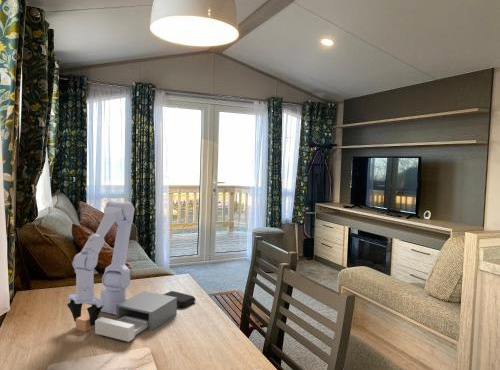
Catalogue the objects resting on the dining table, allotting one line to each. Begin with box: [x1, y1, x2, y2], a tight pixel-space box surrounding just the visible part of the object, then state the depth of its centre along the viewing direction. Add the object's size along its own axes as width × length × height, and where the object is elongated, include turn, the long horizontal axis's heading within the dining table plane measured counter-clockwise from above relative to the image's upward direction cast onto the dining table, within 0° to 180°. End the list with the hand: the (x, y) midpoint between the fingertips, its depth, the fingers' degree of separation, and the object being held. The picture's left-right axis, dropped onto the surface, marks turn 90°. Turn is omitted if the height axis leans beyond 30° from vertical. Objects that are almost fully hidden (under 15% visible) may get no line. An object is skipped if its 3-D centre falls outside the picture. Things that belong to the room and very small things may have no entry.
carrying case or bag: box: [162, 290, 196, 309], centre depth 162 cm, size 11×3×15 cm
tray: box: [94, 316, 149, 342], centre depth 134 cm, size 14×14×5 cm
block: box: [75, 313, 95, 332], centre depth 137 cm, size 4×4×4 cm
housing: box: [115, 290, 178, 331], centre depth 145 cm, size 16×16×7 cm
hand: (85, 322), depth 136 cm, fingers open, 7 cm apart
